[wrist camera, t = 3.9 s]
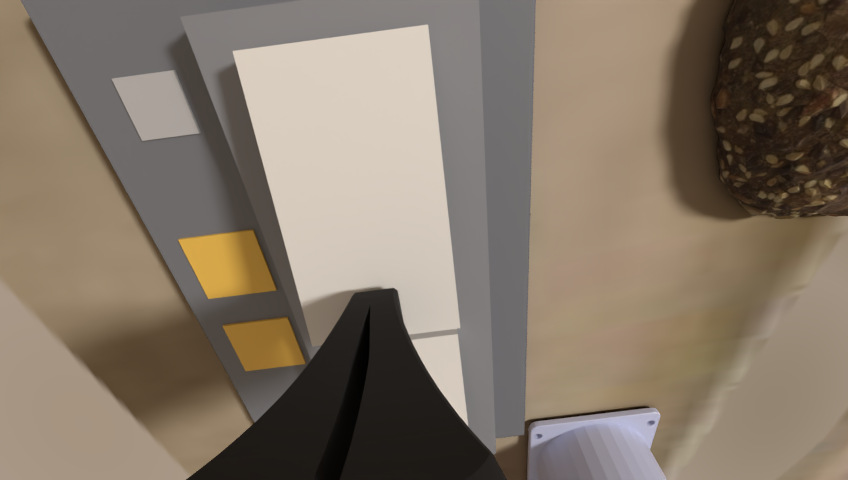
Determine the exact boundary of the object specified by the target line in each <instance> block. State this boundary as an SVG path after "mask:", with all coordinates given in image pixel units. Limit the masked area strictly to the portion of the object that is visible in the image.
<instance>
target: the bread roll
mask: <svg viewBox="0 0 848 480" xmlns="http://www.w3.org/2000/svg"><path fill="white" fill-rule="evenodd" d="M723 29H724V33H725V36H726V39H725V44H724V46H723V49H722V51H721V53H720V56H719V58H720V64H719V70H718V77H717V83H716V86H715V87H714V89H713V91H712V95H711V114H712V117H713V119H714V122H715V129H716V130H717V132H718V134H719V138H718V145H717V155H718V161H719V164H720V173H719V178H720V180H721V181H722V183H723V184H724V185H725V187H726V188H727V190H728V191H729V193H730V194H731V196H732V197H734V198H735V199H737V200H738V202H739V203H740V204H741V205H742V206H743V207H744V208H745V209H746V211H747V212H748V213H750V214H752V215H757V214H768V215H771V216H773V217H774V218H776V219H791V218H794V217H798V216H800V217H802V216H807V215H808V216H811V215H813V214H818V213H820V214H822V215H829V216H848V0H735V1H734V3H733V5H732V7H731V9H730V12H729V14H728V16H727V19H726V21H725V23H724V26H723Z"/></svg>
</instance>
